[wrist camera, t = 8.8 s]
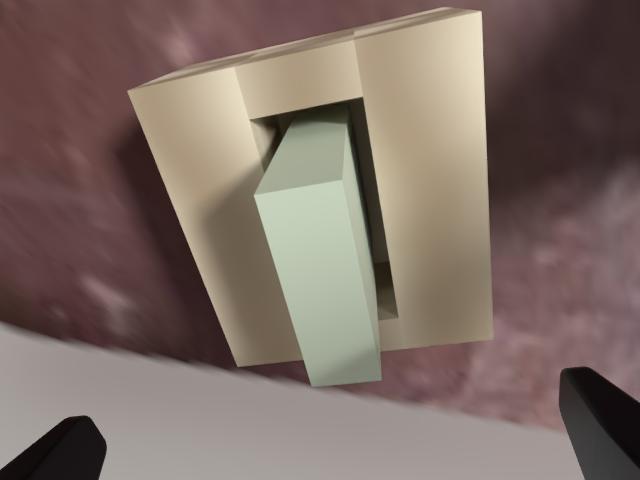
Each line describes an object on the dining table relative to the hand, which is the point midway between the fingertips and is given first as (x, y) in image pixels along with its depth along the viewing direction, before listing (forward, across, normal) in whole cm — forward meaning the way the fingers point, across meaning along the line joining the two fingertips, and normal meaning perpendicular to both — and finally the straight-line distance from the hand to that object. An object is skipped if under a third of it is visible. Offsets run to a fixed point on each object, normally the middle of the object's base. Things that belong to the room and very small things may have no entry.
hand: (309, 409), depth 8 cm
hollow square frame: (+13, 0, 0) cm, 13 cm away
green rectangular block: (+11, 0, 0) cm, 11 cm away
